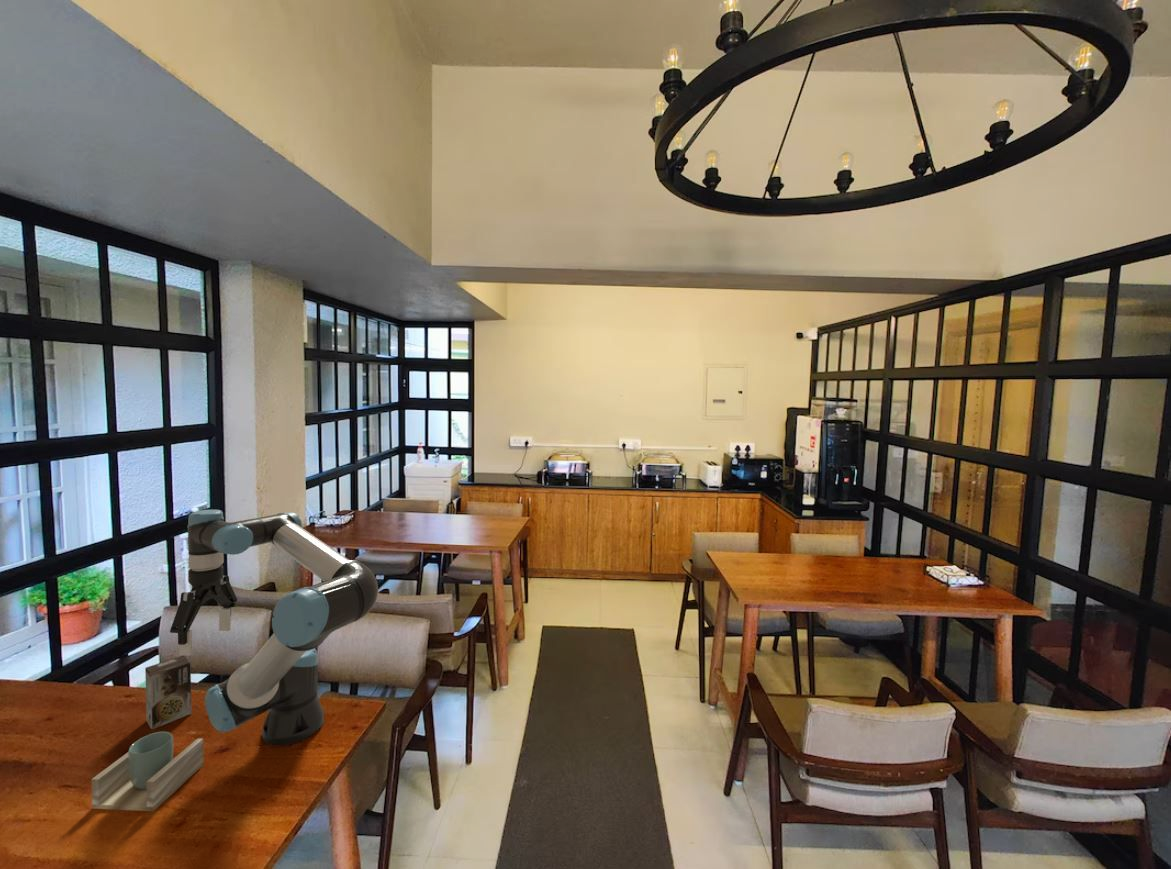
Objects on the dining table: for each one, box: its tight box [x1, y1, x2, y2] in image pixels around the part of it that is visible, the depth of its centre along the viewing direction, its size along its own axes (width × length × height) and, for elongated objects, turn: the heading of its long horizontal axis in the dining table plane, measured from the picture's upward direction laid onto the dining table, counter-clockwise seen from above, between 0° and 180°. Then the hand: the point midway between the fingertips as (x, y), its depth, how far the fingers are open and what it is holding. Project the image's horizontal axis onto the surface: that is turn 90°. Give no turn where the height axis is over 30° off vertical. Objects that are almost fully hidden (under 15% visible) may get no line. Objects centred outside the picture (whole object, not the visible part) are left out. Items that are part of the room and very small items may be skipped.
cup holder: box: [91, 737, 204, 812], centre depth 114 cm, size 14×14×7 cm
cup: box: [128, 731, 174, 789], centre depth 114 cm, size 8×8×10 cm
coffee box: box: [144, 655, 193, 730], centre depth 138 cm, size 9×6×16 cm
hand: (206, 641), depth 130 cm, fingers open, 13 cm apart
